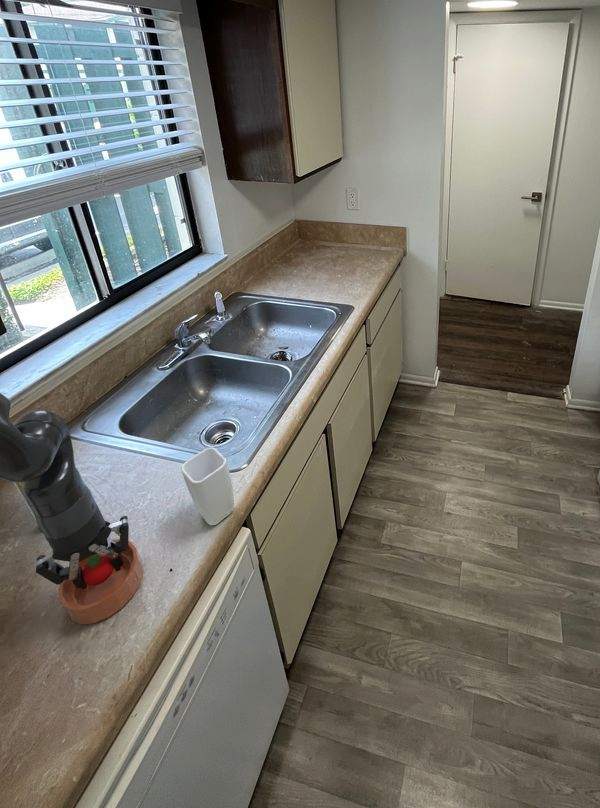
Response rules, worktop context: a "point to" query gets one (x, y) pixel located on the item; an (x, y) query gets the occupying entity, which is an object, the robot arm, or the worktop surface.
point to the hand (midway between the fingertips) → (101, 575)
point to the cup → (209, 485)
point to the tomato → (97, 570)
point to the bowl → (103, 590)
